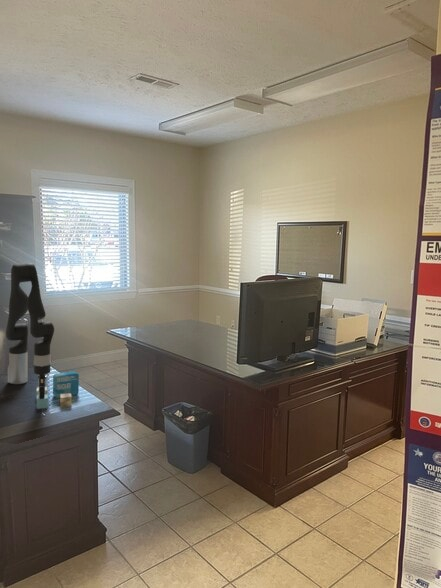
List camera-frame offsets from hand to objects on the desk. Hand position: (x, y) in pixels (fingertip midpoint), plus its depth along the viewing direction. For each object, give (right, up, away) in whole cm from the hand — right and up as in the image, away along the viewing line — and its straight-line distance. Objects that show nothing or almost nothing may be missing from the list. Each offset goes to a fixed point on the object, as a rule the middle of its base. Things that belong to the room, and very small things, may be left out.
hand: (42, 395), depth 208 cm
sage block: (-5, -4, +11) cm, 13 cm away
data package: (+6, -4, +17) cm, 18 cm away
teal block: (0, -6, +1) cm, 6 cm away
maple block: (+10, -6, +5) cm, 12 cm away
